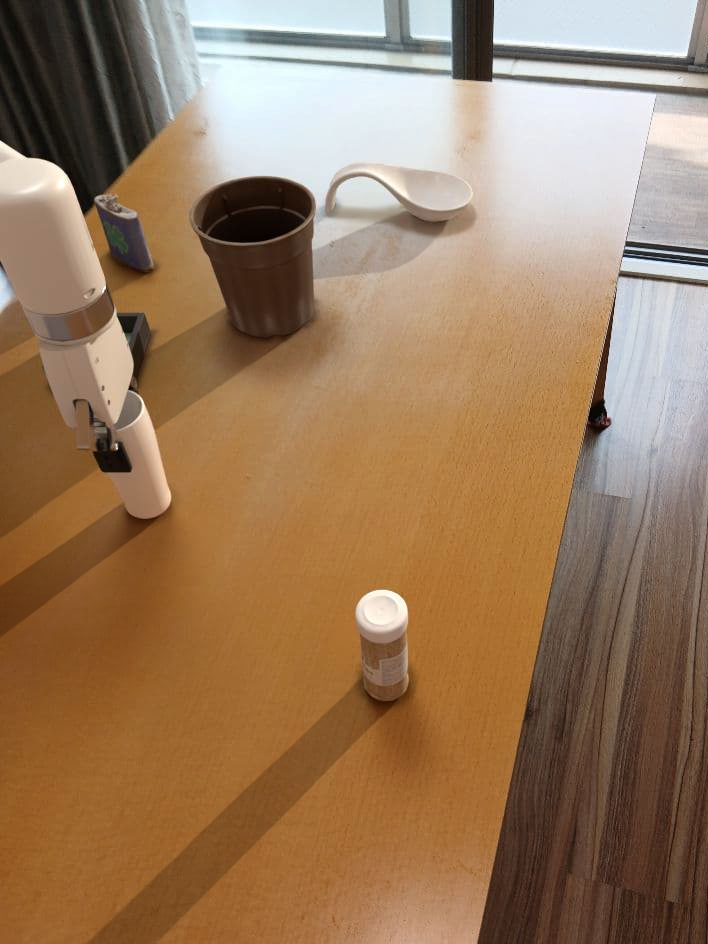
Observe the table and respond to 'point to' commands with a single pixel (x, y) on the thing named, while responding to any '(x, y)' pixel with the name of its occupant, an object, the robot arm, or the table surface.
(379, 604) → the sprinkles bottle
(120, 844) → the table surface
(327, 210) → the spoon rest
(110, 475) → the white tapered cylinder
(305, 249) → the plant pot
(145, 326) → the cup holder
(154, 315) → the table surface
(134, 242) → the flask
